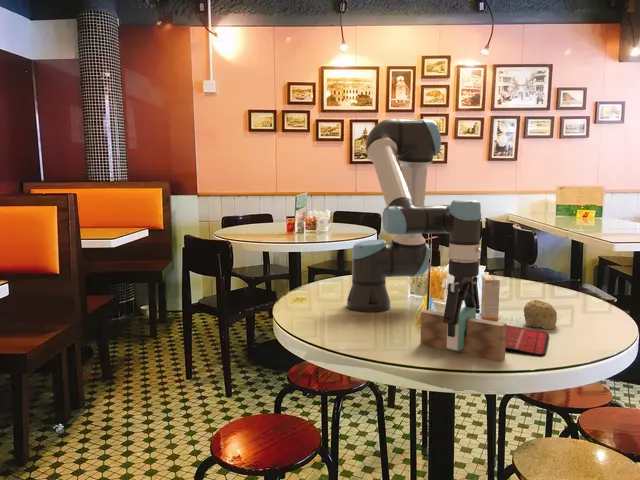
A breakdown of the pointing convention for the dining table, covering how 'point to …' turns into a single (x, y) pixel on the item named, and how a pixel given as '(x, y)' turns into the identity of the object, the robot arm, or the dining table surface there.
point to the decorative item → (540, 314)
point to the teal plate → (463, 324)
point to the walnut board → (466, 335)
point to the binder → (526, 341)
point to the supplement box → (490, 297)
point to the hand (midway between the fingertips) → (461, 342)
